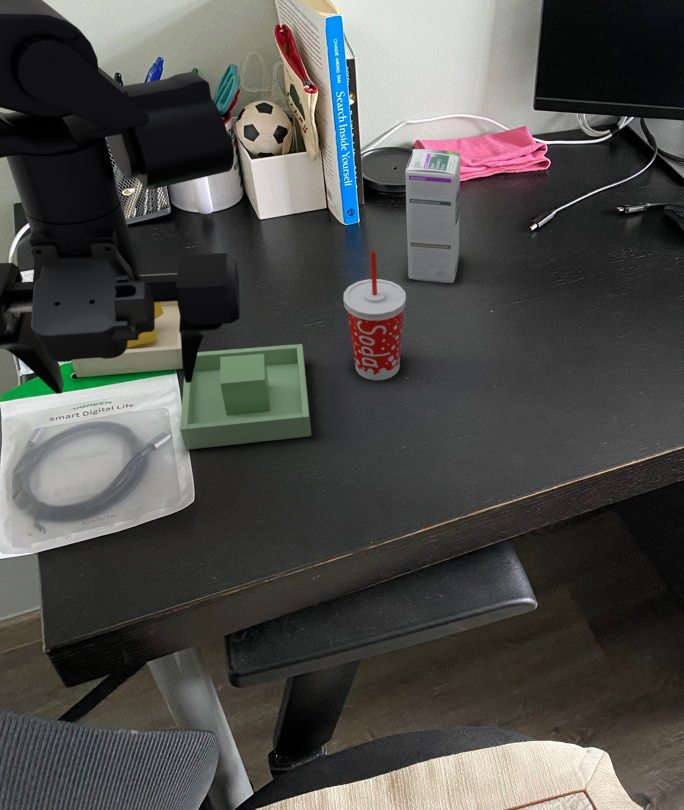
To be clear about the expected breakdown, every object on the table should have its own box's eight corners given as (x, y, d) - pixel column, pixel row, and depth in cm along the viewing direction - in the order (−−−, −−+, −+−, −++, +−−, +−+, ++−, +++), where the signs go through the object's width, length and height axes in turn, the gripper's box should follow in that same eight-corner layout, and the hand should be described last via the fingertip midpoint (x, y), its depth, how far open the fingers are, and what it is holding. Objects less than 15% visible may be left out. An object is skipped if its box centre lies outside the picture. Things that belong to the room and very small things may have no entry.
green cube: (226, 415, 78) (219, 383, 75) (226, 388, 81) (220, 356, 78) (270, 411, 79) (265, 379, 76) (269, 384, 82) (264, 353, 79)
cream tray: (76, 377, 81) (69, 357, 79) (91, 312, 89) (84, 292, 87) (187, 368, 83) (182, 348, 82) (191, 305, 91) (187, 286, 90)
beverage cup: (336, 372, 85) (326, 256, 76) (369, 342, 90) (363, 228, 80) (387, 392, 84) (383, 276, 74) (417, 360, 88) (417, 247, 79)
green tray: (185, 450, 75) (180, 429, 73) (190, 373, 83) (185, 352, 81) (311, 436, 78) (309, 416, 76) (304, 363, 86) (302, 343, 84)
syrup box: (454, 284, 100) (458, 173, 90) (406, 279, 99) (404, 168, 90) (459, 259, 104) (463, 151, 94) (412, 255, 104) (412, 146, 94)
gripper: (-133, 277, 46) (-35, 472, 56) (222, 260, 51) (253, 442, 61) (-79, 185, 53) (-2, 370, 64) (223, 178, 59) (250, 351, 69)
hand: (126, 384), depth 64 cm, fingers open, 9 cm apart
